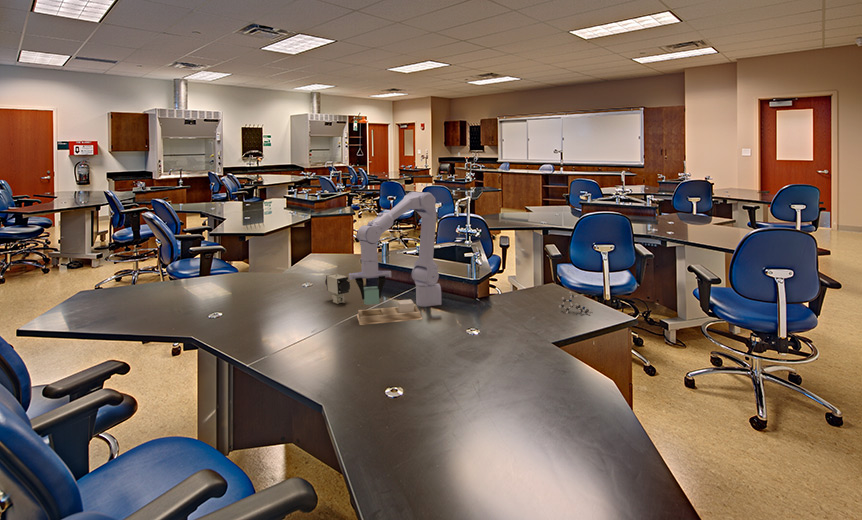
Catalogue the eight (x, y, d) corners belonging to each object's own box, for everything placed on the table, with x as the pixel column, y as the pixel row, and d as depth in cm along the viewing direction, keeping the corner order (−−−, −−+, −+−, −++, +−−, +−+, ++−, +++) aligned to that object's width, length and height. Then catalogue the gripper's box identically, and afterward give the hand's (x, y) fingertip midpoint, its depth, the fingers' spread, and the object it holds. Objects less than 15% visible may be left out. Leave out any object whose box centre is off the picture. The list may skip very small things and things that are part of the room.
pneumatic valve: (341, 306, 195) (339, 277, 193) (325, 301, 204) (324, 272, 201) (353, 304, 199) (351, 274, 196) (337, 298, 207) (336, 270, 205)
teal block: (377, 299, 179) (376, 286, 178) (379, 303, 174) (378, 289, 173) (363, 301, 178) (362, 287, 177) (364, 304, 173) (364, 290, 172)
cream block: (411, 312, 182) (411, 299, 181) (414, 316, 177) (413, 303, 176) (397, 313, 181) (397, 300, 180) (400, 317, 176) (399, 304, 175)
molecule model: (590, 323, 177) (598, 302, 177) (558, 309, 179) (566, 289, 179) (587, 322, 183) (595, 302, 184) (555, 309, 185) (563, 289, 186)
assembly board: (416, 312, 186) (416, 304, 185) (423, 322, 175) (423, 313, 174) (356, 317, 181) (356, 309, 181) (360, 328, 170) (359, 319, 169)
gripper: (388, 256, 178) (390, 293, 181) (347, 259, 175) (349, 296, 178) (391, 260, 171) (393, 298, 174) (348, 263, 168) (351, 302, 171)
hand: (371, 298), depth 175 cm, fingers closed on teal block, 5 cm apart
